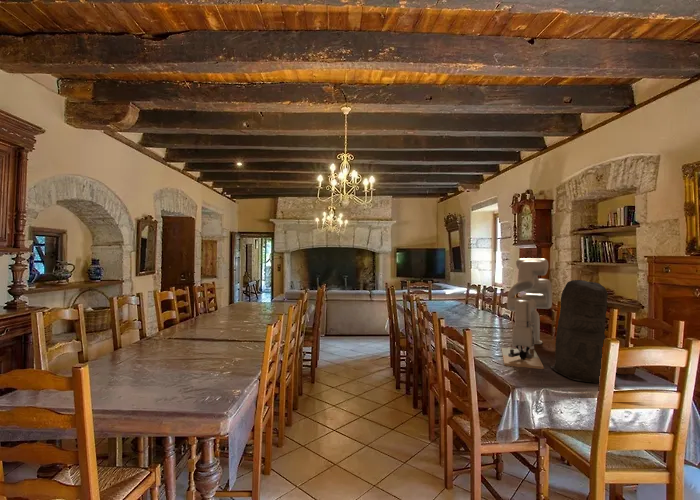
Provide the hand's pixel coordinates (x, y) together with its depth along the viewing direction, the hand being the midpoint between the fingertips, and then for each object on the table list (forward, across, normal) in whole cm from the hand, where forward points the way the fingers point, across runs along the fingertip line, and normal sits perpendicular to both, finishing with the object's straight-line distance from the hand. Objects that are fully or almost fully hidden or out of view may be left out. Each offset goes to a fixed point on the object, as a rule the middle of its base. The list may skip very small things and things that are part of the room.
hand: (523, 359), depth 194 cm
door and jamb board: (+2, +4, -9) cm, 10 cm away
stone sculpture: (+3, -27, +4) cm, 27 cm away
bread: (+3, -37, -19) cm, 41 cm away
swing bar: (-1, +3, -1) cm, 4 cm away
